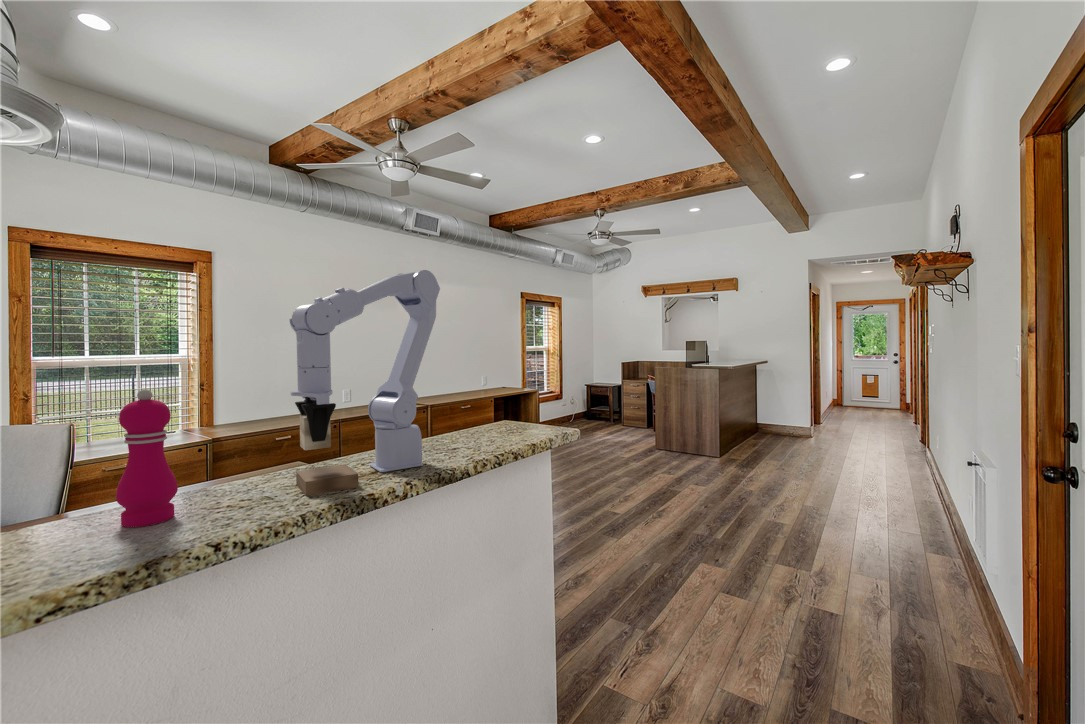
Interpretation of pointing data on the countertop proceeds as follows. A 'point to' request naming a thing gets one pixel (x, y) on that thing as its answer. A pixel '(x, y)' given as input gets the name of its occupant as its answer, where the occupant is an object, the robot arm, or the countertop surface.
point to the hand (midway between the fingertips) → (315, 439)
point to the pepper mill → (146, 464)
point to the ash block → (306, 437)
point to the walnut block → (326, 479)
